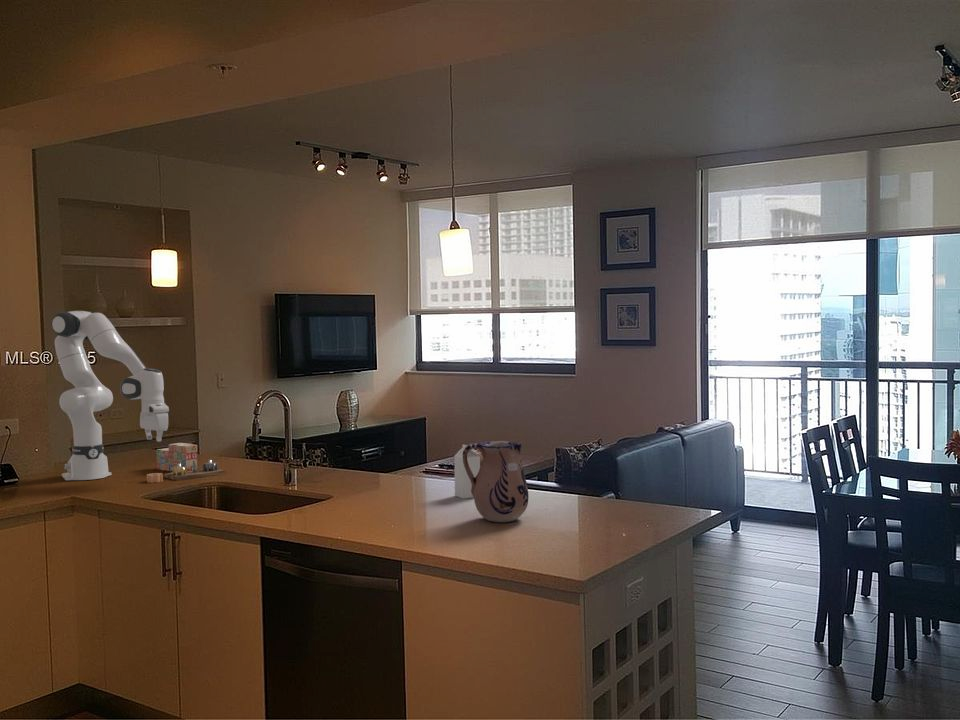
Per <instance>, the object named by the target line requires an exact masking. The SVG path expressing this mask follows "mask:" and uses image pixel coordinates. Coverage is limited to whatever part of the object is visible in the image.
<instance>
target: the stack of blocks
mask: <svg viewBox="0 0 960 720" xmlns="http://www.w3.org/2000/svg"><path fill="white" fill-rule="evenodd" d="M155 454H156V470H159V471H164V470H166V472H171V471H172V468H171V467H175V466H177V464H179V463H181V466H187V471H190V470H193V461H194V460H196V462H197V463H198V445H197V444H193V443H185V442H176V443H170V444H169V443H168V447H165V448H158V449H156V450H155ZM197 470H198V466H197Z"/></svg>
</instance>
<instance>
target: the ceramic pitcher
mask: <svg viewBox="0 0 960 720" xmlns="http://www.w3.org/2000/svg"><path fill="white" fill-rule="evenodd" d="M472 449H474V450H477V451H479V452H480V454H481V456H482V460H481V461H482V462H481V463H480V469H479V472H478V474H477V476H476V477H474V475H473V473H472V471H471V469H470V467H469V464H468V460H467V454H468V452H469V451H470V450H472ZM521 449H522V443H519V442H511V441H509V440H498V441H496V440H495V441H485V442H481V443H478V442H477V443H469V444H468V445H467V446H466V448H465V449H464V451H463V464H464V467H465V469H466V472H467V474H468V477H469V479H470V481H471V485H472V487H471V493H472V495H473V497H474V498H473V501H474V505H475V507H476V510H477V512H478V513H479V515H481V517H482V518H484V519H485V520H486V521H489V522H493V523H509V522H514V521H516V520H518V519H519V518H520V517H521V516H522V515H523V514H524V513H525V512H526V510H527V508H528V505H529V496H530V495H529V489H528V484H527V478H526V475H525V470H524V468H523V464H522V459H521V458H522V456H521Z"/></svg>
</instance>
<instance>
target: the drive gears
mask: <svg viewBox="0 0 960 720" xmlns="http://www.w3.org/2000/svg"><path fill="white" fill-rule="evenodd" d="M171 468H172V472H171V473H172V475H184V474H187V466H181V463H179V464H177V466H175V467H171ZM202 469H203V471H215V470H218V469H219V468H218V462H214V461H213V460H212V459H208V462H205V463H202Z"/></svg>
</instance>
